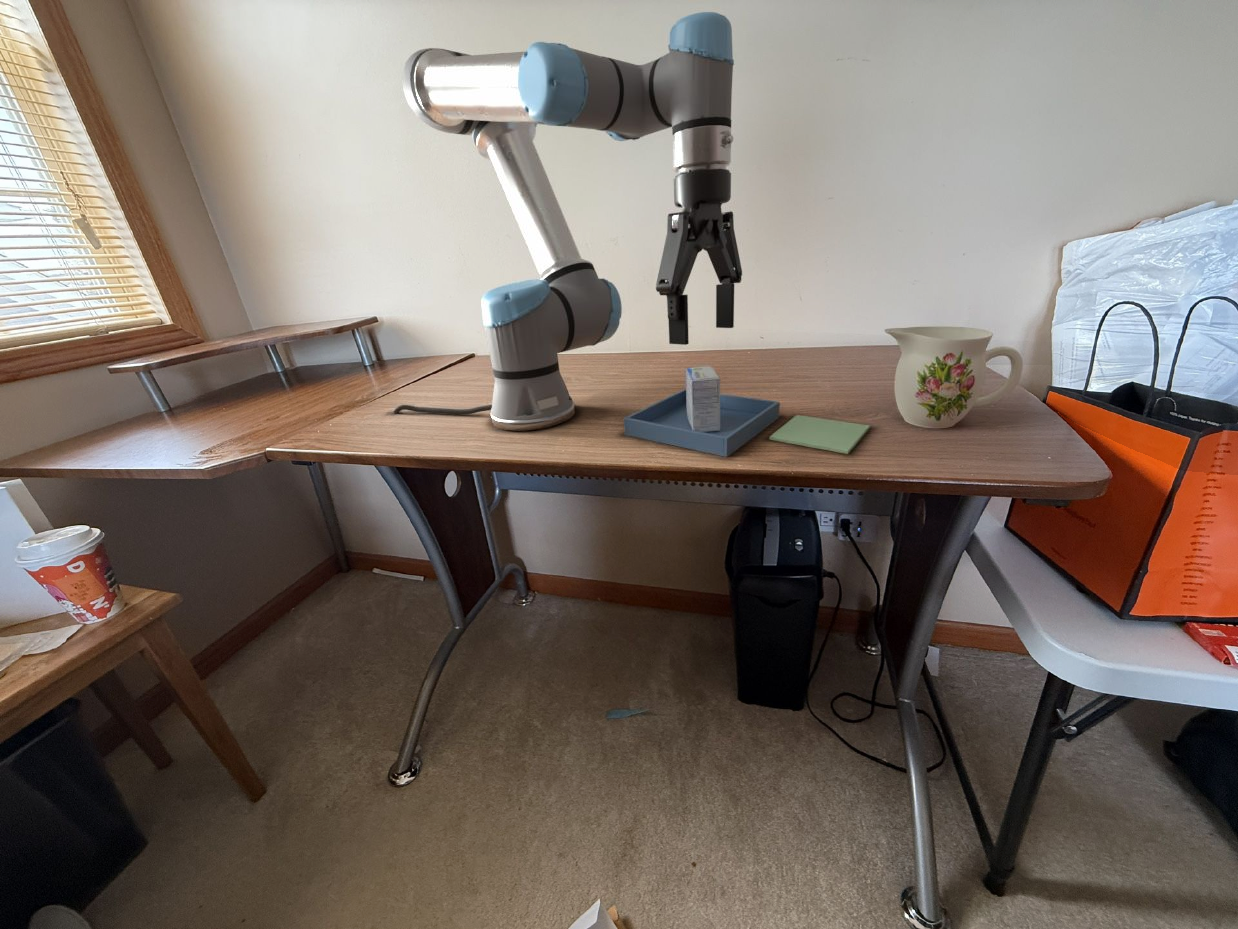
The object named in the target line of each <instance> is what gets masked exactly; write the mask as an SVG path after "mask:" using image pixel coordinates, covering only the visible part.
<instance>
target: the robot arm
mask: <svg viewBox="0 0 1238 929" xmlns="http://www.w3.org/2000/svg"><path fill="white" fill-rule="evenodd" d="M669 31H670V32H669V43H668V45H667V47H668V51H669V52H668V53H666V54H664V55H662V56H660V57H659V58H657V59H654V60H651V61H650V62H647V63H644V64H635V63H631V62H627V61H623V60H620V59H616V58H612V57H607V56H601V55H598V54H594V53H591V52H587V51H583V50H579V49H577V48H576V49H575V48H572V47H569V46H568V45H567V44H564V43H557V42H545V41H536V42H534V43H533V42H532V43H531V44H530V45H529V46H528V48H527V50H526V51H514V52H513V51H512V52H501V53H486V54H473V55H472V54H468V53H463V52H459V51H454V50H450V49H446V48H439V47H429V48H422V49H419V50H416V51H415V52H413V53H412V54H411V55H410V56H409V57H408V59H407V60H406V62H405V63H404V67H403V70H402V76H401V80H402V81H401V83H402V89H403V94H404V97H405V100H406V102H407V104H408V106H409V108H410V109H411V110H412V112H413V113H414V115H415V116H416V117H417V118H418V119H419V120H421V122H422V123H424V124H425V125H426V126H429V127H431V128H432V129H434V130H437V131H438V132H439V131H440V132H443V133H448V134H454V135H455V134H456V135H461V136H462V135H463V136H469V137H471V138H472V140H473V143H474V145H475V148H476V149H477V152H478V153H479V155H480V156H481V157H482V158H484V159H486V160H488V161H490V162H491V164H492V166H493V169H494V171H495V173H496V176H497V179H498V180H499V184H500V186H501V187H502V190H503V192H504V195H505V197H506V200H507V202H508V204H509V207H510V208H511V211H512V214H513V216H514V219H515V221H516V223H517V226H518V228H519V230H520V233H521V235H522V237H523V240H524V243H525V244H526V246H527V248H528V251H529V254H530V256H531V259H532V261H533V264H534V266H535V268H536V271H537V273H538V275H539V278H536V279H527V280H522V281H517V282H512V283H508V284H504V285H501V286H500V285H499V286H498V287H495V288H492V289H489V290H488V291H487V292H485V293H484V294H483V296H482V297H481V300H480V301H481V302H480V305H481V316H482V319H481V320H482V324H483V326H484V331H485V336H486V342H487V346H488V351H489V352H488V353H489V358H490V363H491V368H492V374H493V378H494V387H493V393H492V401H491V404H487V405H481V406H477V407H471V408H463V409H462V408H460V409H459V408H445V407H444V408H443V407H430V406H429V407H427V406H415V405H411V404H410V405H409V404H401V405H398V406H397V407H395V409H393V411H392V414H393V415H397V414H399V413H400V412H401V411H411V412H415V413H416V412H417V413H432V414H445V415H447V414H448V415H471V414H477V413H480V412H486V411H490V418H491V423H492V426H494V427H495V428H498V429H501V430H505V431H515V432H519V431H521V432H522V431H533V430H540V429H546V428H551V427H553V426H557V425H559V424H562V423H565V422H567V421H569V419H571V418H572V417H573V416H575V413H576V410H575V403H574V400H573V398H572V396H571V395H570V393H569V389H568V387H567V386H566V382H565V381H564V378H563V376H562V374H561V372H560V371H561V370H560V364H559V356H558V354H560V353H564V352H569V351H573V350H577V349H580V348H585V347H591V346H596V345H598V344H599V343H602V342H605V341H607V340H609V339H611V338H612V337H613V336H614V335H615V333H617V330H618V329H619V326H620V324H621V323H620V322H621V321H620V320H621V318H622V313H623V308H622V307H623V306H622V300H621V296H620V292H619V291H618V288H617V287H616V286H615V284H614V283H613V282H611V281H609V280H608V279H606V278H599V275H598V272H597V271H596V269H595V266H594V264H593V262H591V261H590V260H587V259H584V258H582V256H581V254H580V251H579V249H578V247H577V244H576V242H575V239H574V237H573V235H572V232H571V229H570V228H569V225H568V223H567V220H566V218H565V215H564V213H563V211H562V208H561V205H560V203H559V201H558V198H557V196H556V193H555V191H554V189H553V187H552V184H551V182H550V178H549V177H548V175H547V172H546V170H545V166H544V165H543V162H542V160H541V158H540V155H539V153H538V151H537V148H536V145H535V143H534V140H535V139H536V138H535V137H536V135H537V134H536V133H537V125H542V126H543V125H545V126H550V127H567V128H576V129H587V130H594V131H595V130H596V131H599V132H600V131H601V132H605V133H606V134H607V135H608V136H609V137H611V139H612V140H614V141H617V142H625V141H630V140H633V141H636V140H639V139H641V138H643V137H645V136H648V135H652V134H654V133H657V132H660V131H663V130H667V129H670V128H671V129H672V130H671V131H672V133H671V134H672V136H671V137H672V171H674V172H675V173H677V175H676V176H674V179H673V198H674V199H673V202H674V205H675V207H676V208H678V209H679V208H681V209H682V211H679V212H670V213H668V215H667V223H666V224H667V226H666V236H665V241H664V245H663V249H662V256H661V261H660V264H659V269H658V273H657V279H656V283H655V290H656V292H657V293H658V294H659V296H666V305H667V320H668V337H669V338H668V341H669V342H668V343H669V345H681V346H682V345H683V346H687V345H689V344H690V343H689V342H690V341H689V298H688V294H684V292H685V289H686V287H687V284H688V282H689V279H690V276H691V273H692V271H693V268H694V265H695V262H696V261H697V257H698V255H699V253H700V252H702V251H703V250H704V251H706V253H707V255H708V257H709V260H710V262H711V265H712V267H713V270H714V272H715V274H716V276H717V279H718V282H719V283H718V284H715V294H716V295H715V328H716V329H734V327H735V326H734V325H735V324H734V323H735V284H741V283H742V276H743V269H742V265H741V259H740V254H739V248H738V243H737V238H736V233H735V226H734V225H735V223H734V213H733V211H731V210H729V211H722V205H723V204H726V203H729V201H730V200H731V199H732V172H730V170H729V169H727V167H729V166H730V165H731V163H732V144H733V142H734V135H732V97H733V95H732V94H733V74H734V73H733V72H734V65H735V64H734V63H735V60H734V59H733V58H734V56H733V29H732V24H731V22H730V19H728V17H727V16H726V15H723V14H721V13H719V12H714V11H703V12H701V11H700V12H696V13H691V14H689V15H686V16H684V17H681V18H680V19H678V20H677V22H675V24H673V25H672V26H671V28H670V30H669Z"/></svg>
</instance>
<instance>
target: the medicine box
mask: <svg viewBox="0 0 1238 929" xmlns="http://www.w3.org/2000/svg"><path fill="white" fill-rule="evenodd" d="M685 389H686V407H687V418H688V420H689V423H690V425H691V428H692V430H694V431H700V432H715V431H720V394H721V378H720V376H719V375H718V373H717V372H716V371H715V369H714V368H713V366H710V365H707V366H706V365H705V366H693V367H688V368H685Z"/></svg>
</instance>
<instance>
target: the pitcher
mask: <svg viewBox="0 0 1238 929" xmlns="http://www.w3.org/2000/svg"><path fill="white" fill-rule="evenodd" d="M884 332H885V333H886V334H888V335H889V336H891V337H892V338H894V340H896V342H897V344H898V346H899V349H900V352H901V355H900V357H899V360H898V362H897V365H896V370H895V375H894V397H895V402H896V406H897V409H898V412H899V413H900V415H901V416H902V418H903V420H904V421H905V422H906V423H908V424H909V425H913V426H916V427H918V428H919V427H920V428H925V429H948V428H952V427H954V426H955V425H956V424H958V423H959V422H960V421H961V420H963V418H965V417H966V415H967V414H968V413H969V412H970V411H971V409H976V408H981V407H986V406H989V405H992V404H995V403H997V402H1000V401H1001V400H1002V399H1004V398H1006V397H1007V396H1008V395H1009V394H1010V393H1012V391H1013V390H1015V388H1016V387H1017V386H1018V383H1019V381H1020V380H1021V376H1022V373H1023V369H1024V361H1023V358H1022V355H1021V353H1020V352H1019V351H1018V350H1017V349H1016V348H1014V347H1010V346H997V347H993V348H990V349H987V348H988V346H989V344H990V342H991V340H992V338H993V333H992V332H991V331H989V330H986V329H980V328H975V327H964V326H909V327H894V328H885V329H884ZM997 357H1007V358H1008V359H1009V362H1010V366H1011V367H1010V369H1011V370H1010V372H1009V375H1008V378H1007V380H1006V381H1005V383H1004V384H1003V385H1002V386H1001V387H1000V388H998V389H997V390H995V391H994V392H991V393H989V394H987V395H984V396H980V394H981V392H982V389H983V386H984V384H985V379H986V375H987V363H988V362H989V361H990V360H992V359H995V358H997ZM979 396H980V397H979Z"/></svg>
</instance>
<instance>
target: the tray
mask: <svg viewBox="0 0 1238 929" xmlns="http://www.w3.org/2000/svg"><path fill="white" fill-rule="evenodd" d="M780 406H781V401H777V400H770V399H761V398H755V397H748V396H739V395H733V394H732V395H731V394H724V393H720V431H715V432H700V431H694V430H692V428H691V425H690V423H689V420H688V418H687V407H686V388H683V389H681V390H679V391H677V392H675V393H673V394H671V395H669V396H666V397H665V398H663V399H661V400H658V401H657V402H655V403H652V404H650V405H649V406H646V407H644V408H642V409H640V410H638V411H635V412H634V413H631V414H630V415H628V416H625V417H623V428H624V436H628V437H632V438H638V439H643V440H646V441H651V442H657V443H661V444H665V445H669V446H675V447H680V448H683V449H688V450H693V451H698V452H702V453H706V454H711V455H716V456H721V457H725V458H728V457H729V456H731V455H732V454H733V453H735V452H736V451H738V449H740V448H741V447H742V446H744V445H745V444H746V443H748V442H749V441H751V440H752V439H753V438H754V437H756V436H757V435H759V433H761V432H763V431H764V430H765V429H766V428H767V427H769V426H770V425H772V424H773V423H775V422H776V421H777V420H778V419H779V418H780Z"/></svg>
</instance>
